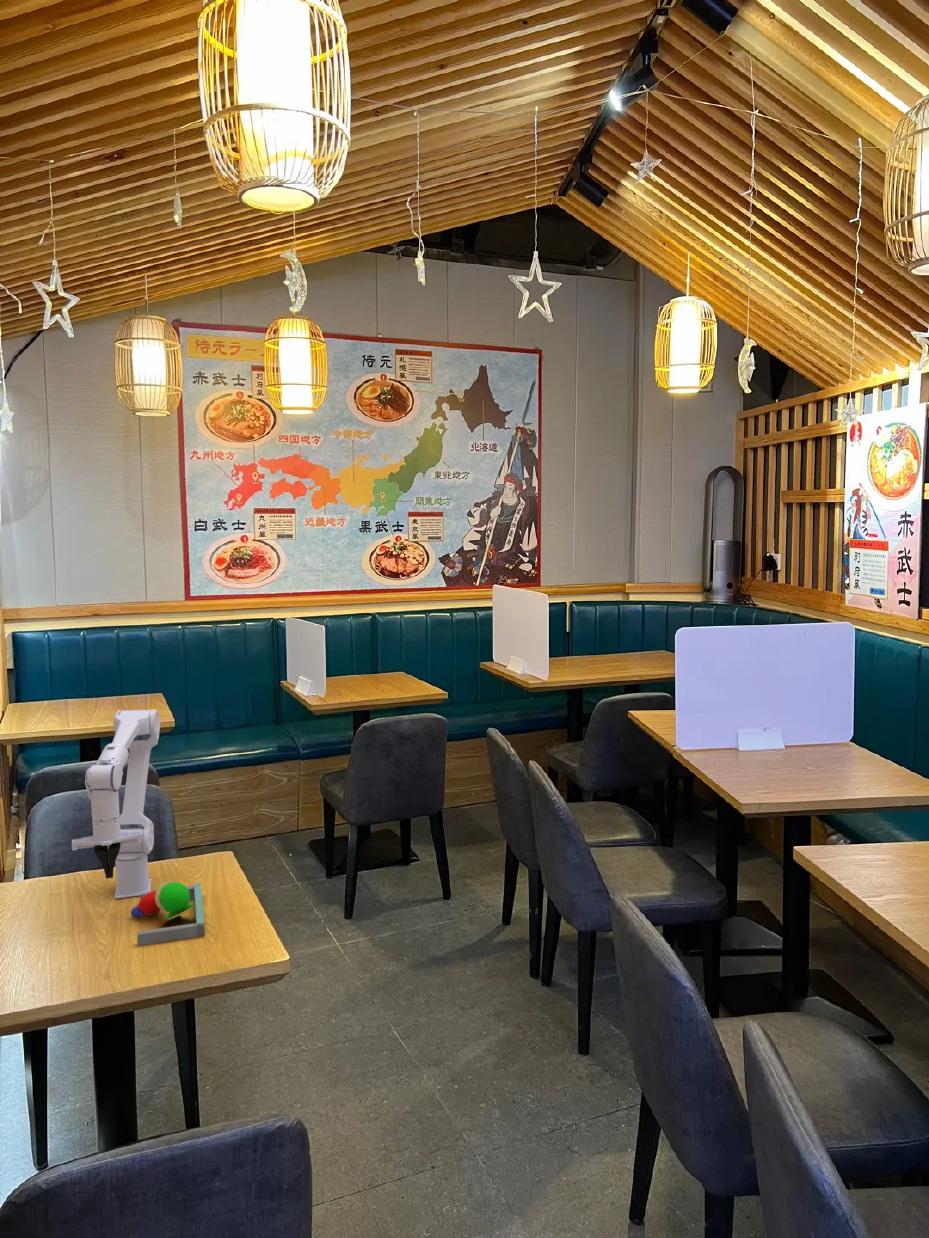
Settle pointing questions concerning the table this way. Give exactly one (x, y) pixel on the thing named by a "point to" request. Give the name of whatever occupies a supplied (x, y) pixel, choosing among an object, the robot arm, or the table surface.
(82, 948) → the table surface
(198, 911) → the bay
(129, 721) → the robot arm
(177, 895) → the toy
